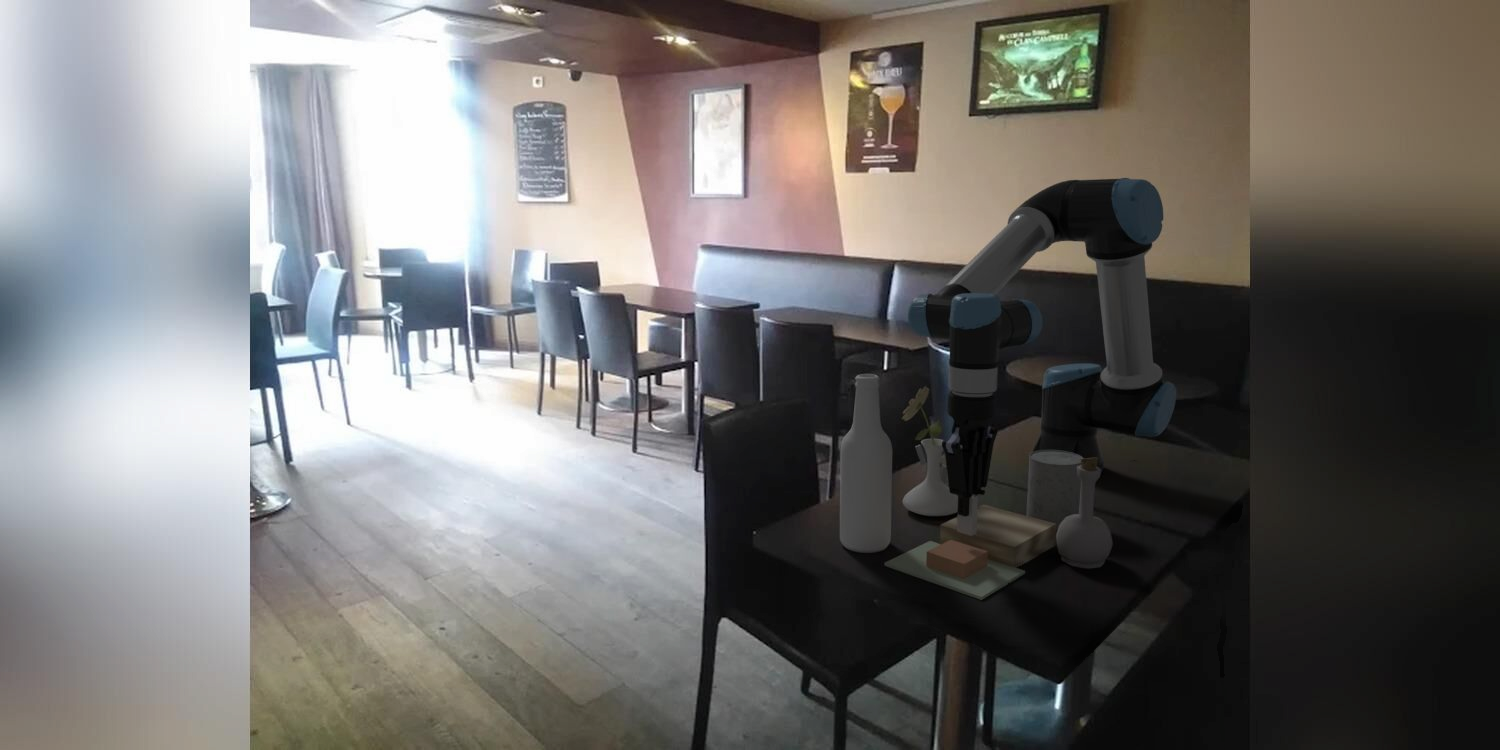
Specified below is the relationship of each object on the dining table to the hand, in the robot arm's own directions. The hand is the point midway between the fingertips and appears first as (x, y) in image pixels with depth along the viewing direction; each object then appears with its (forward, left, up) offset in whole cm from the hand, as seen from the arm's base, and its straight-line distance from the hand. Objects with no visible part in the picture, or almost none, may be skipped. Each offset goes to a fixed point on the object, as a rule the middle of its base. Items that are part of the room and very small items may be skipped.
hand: (966, 532), depth 143 cm
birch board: (-10, 0, -5) cm, 11 cm away
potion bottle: (-15, +13, -6) cm, 20 cm away
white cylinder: (-28, +1, -6) cm, 29 cm away
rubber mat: (+3, 0, -5) cm, 6 cm away
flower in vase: (-16, -18, -6) cm, 25 cm away
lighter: (-31, -28, -6) cm, 42 cm away
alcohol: (+5, -17, -6) cm, 19 cm away
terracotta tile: (+3, 0, -5) cm, 6 cm away
